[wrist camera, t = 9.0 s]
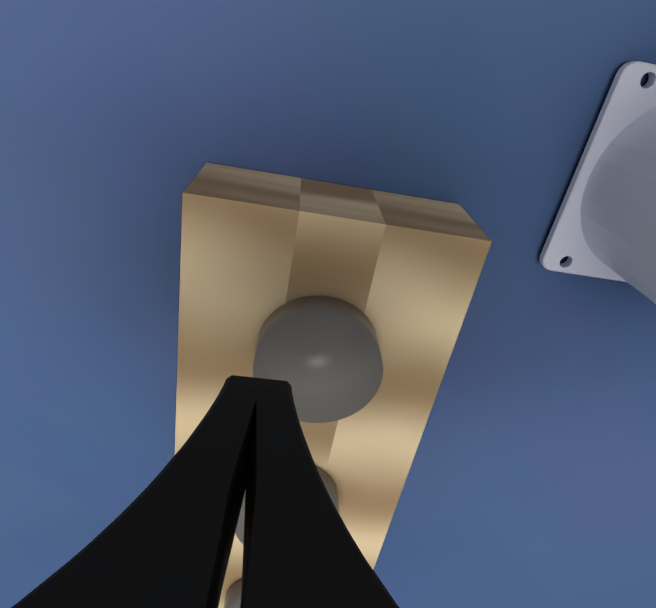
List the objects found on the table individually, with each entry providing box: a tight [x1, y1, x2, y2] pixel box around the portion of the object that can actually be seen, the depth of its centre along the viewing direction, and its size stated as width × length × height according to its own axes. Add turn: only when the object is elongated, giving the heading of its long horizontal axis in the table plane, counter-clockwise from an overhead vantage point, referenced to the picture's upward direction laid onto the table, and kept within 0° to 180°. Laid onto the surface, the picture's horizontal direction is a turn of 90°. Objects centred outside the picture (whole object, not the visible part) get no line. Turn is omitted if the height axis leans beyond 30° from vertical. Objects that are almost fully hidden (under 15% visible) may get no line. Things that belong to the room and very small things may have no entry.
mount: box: [175, 163, 492, 608], centre depth 23 cm, size 26×10×4 cm, turn 170°
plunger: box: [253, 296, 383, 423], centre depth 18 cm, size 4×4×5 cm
